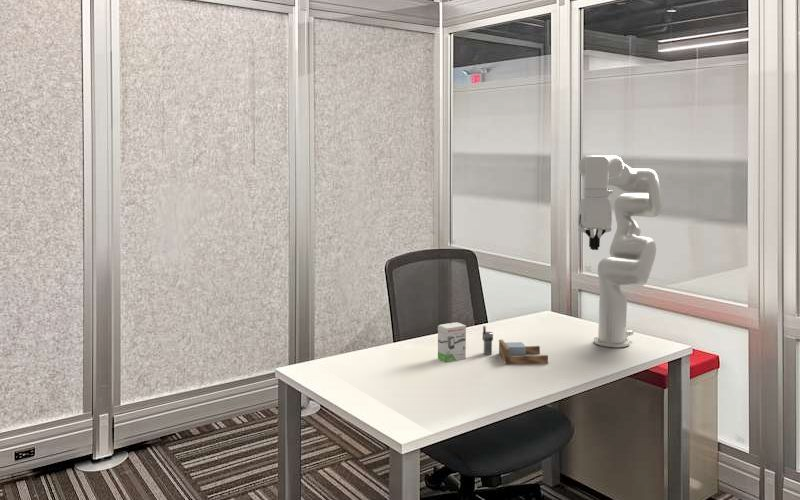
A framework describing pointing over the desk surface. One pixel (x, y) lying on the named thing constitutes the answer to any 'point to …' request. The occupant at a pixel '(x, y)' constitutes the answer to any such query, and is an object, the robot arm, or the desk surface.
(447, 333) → the ink box
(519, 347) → the blue-grey cube
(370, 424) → the desk surface
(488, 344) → the winch post
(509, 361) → the bay
